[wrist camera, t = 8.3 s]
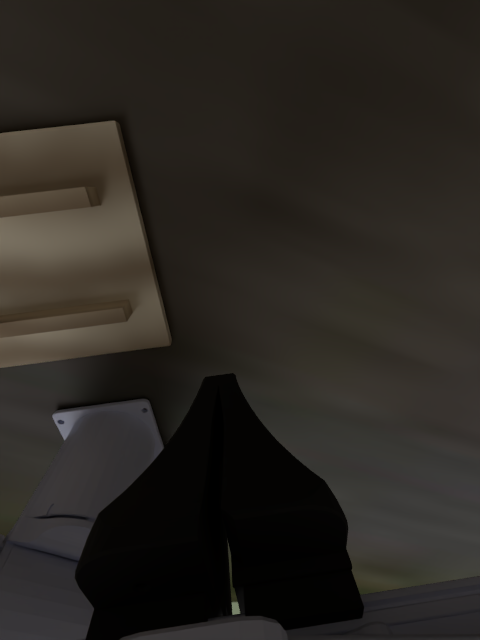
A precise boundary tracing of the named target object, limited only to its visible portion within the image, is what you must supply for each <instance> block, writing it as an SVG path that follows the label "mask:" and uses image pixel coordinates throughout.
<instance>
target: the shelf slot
mask: <svg viewBox="0 0 480 640" xmlns="http://www.w3.org/2000/svg"><path fill="white" fill-rule="evenodd" d="M171 342H172V338H171V334H170V330H169V326H168V322H167V318H166V313H165V309H164V305H163V301H162V297H161V293H160V289H159V285H158V281H157V276H156V272H155V268H154V264H153V260H152V256H151V252H150V248H149V243H148V239H147V235H146V231H145V227H144V223H143V219H142V215H141V210H140V206H139V202H138V198H137V194H136V190H135V186H134V182H133V177H132V173H131V169H130V165H129V161H128V157H127V153H126V149H125V144H124V140H123V136H122V132H121V128H120V124H119V123H118V122H116V121H106V122H97V123H88V124H79V125H70V126H61V127H52V128H43V129H34V130H25V131H16V132H7V133H0V368H3V367H11V366H19V365H26V364H34V363H41V362H49V361H57V360H64V359H72V358H79V357H87V356H95V355H102V354H110V353H117V352H125V351H133V350H140V349H148V348H155V347H163V346H171Z"/></svg>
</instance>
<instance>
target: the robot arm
mask: <svg viewBox="0 0 480 640" xmlns="http://www.w3.org/2000/svg"><path fill="white" fill-rule="evenodd" d="M143 408H146V409H147V410H144V409H143ZM52 417H53V419H54V421H55V423H56V425H57V427H58V429H59V431H60V433H61V434H62V436H63V438H64V440H65V441H64V443H63V445H62V446H61V448H60V450H59V451H58V453H57V455H56V456H55V458H54V460H53V461H52V463H51V465H50V466H49V468H48V470H47V471H46V473H45V475H44V477H43V478H42V480H41V482H40V483H39V485H38V487H37V488H36V490H35V492H34V493H33V495H32V497H31V498H30V500H29V502H28V503H27V505H26V507H25V509H24V510H23V512H22V514H21V515H20V517H19V519H18V520H17V522H16V524H15V525H14V527H13V528H12V529H11V531H10V532H9V533H8V535H7V536H6V537H5V536H4V535H1V534H0V640H480V576H477V577H471V578H464V579H458V580H452V581H445V582H439V583H433V584H426V585H420V586H414V587H407V588H401V589H394V590H388V591H382V592H375V593H369V594H363V595H360V593H359V591H358V588H357V585H356V582H355V579H354V577H353V574H352V571H351V570H352V564H351V561H350V558H349V555H348V552H347V550H346V545H347V535H348V523H347V520H346V517H345V515H344V513H343V511H342V509H341V507H340V505H339V503H338V501H337V499H336V498H335V496H334V494H333V493H332V491H331V490H330V488H329V487H328V485H327V484H326V482H325V481H324V480H323V479H322V478H320V477H319V476H318V475H316V474H315V473H314V472H312V471H311V470H310V469H308V468H307V467H306V466H305V465H303V464H302V463H301V462H300V461H299V460H297V459H296V458H295V457H294V456H293V455H292V454H291V453H290V452H289V451H288V450H286V449H285V448H284V447H283V446H282V445H281V444H280V443H279V442H278V441H277V440H276V439H275V438H274V437H273V435H272V434H271V433H270V432H269V431H268V430H267V429H266V427H265V426H264V425H263V424H262V422H261V421H260V420H259V419H258V417H257V416H256V414H255V413H254V412H253V410H252V409H251V407H250V405H249V404H248V402H247V400H246V399H245V397H244V395H243V393H242V392H241V389H240V387H239V385H238V383H237V380H236V375H235V374H233V373H231V374H224V375H216V376H209V377H205V378H204V379H203V382H202V384H201V387H200V389H199V391H198V393H197V396H196V398H195V400H194V402H193V404H192V405H191V407H190V409H189V411H188V413H187V415H186V416H185V418H184V420H183V421H182V423H181V424H180V426H179V428H178V429H177V431H176V432H175V434H174V435H173V437H172V438H171V439H170V441H169V442H168V443H167V445H166V446H165V447H164V445H163V442H162V439H161V436H160V433H159V430H158V426H157V423H156V420H155V417H154V414H153V411H152V408H151V404H150V402H149V400H147V399H136V400H129V401H122V402H114V403H107V404H100V405H92V406H85V407H78V408H70V409H63V410H57V411H55V412H54V414H53V416H52ZM62 420H63V421H62ZM227 538H228V542H227ZM228 543H229V547H230V552H231V561H232V583H233V588H235V592H236V596H237V600H238V604H239V609H240V613H241V614H236V615H232V603H231V589H230V574H229V558H228Z"/></svg>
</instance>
